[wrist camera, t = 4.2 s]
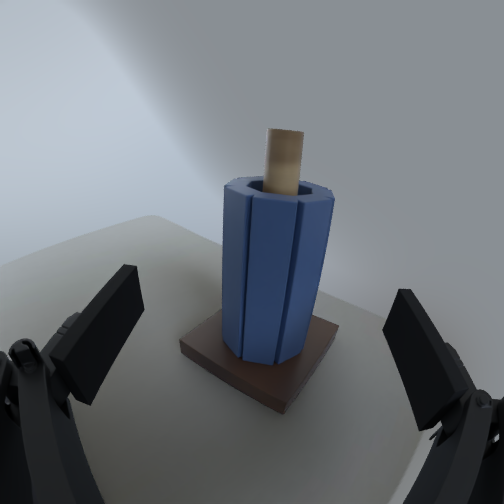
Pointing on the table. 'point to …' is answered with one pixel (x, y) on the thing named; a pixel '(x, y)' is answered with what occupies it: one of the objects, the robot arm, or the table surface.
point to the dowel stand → (210, 331)
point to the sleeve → (271, 267)
